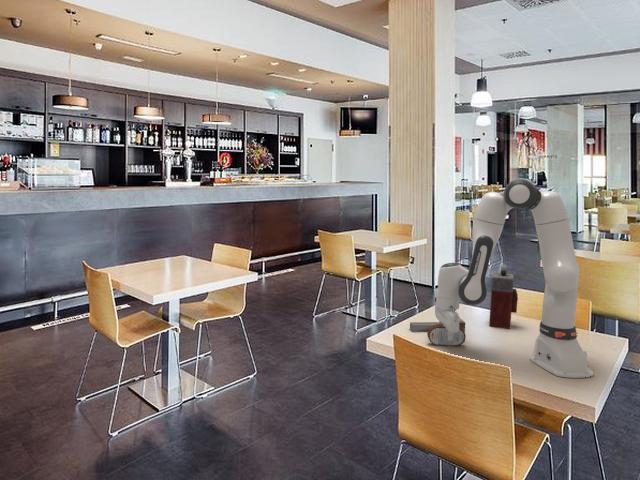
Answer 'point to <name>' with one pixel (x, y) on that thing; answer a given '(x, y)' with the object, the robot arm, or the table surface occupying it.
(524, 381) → the table surface
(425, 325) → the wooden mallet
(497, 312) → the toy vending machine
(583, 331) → the table surface
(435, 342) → the tin
